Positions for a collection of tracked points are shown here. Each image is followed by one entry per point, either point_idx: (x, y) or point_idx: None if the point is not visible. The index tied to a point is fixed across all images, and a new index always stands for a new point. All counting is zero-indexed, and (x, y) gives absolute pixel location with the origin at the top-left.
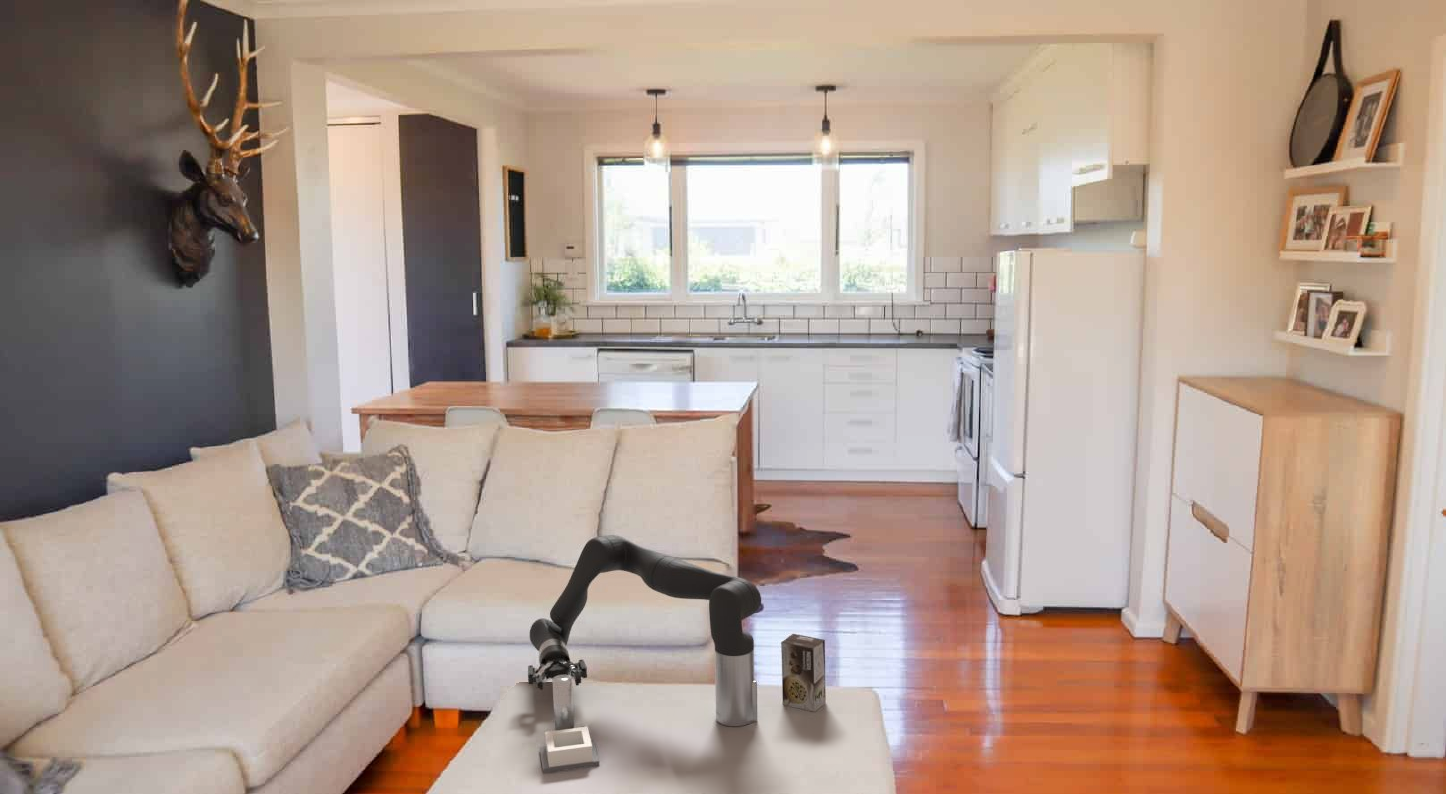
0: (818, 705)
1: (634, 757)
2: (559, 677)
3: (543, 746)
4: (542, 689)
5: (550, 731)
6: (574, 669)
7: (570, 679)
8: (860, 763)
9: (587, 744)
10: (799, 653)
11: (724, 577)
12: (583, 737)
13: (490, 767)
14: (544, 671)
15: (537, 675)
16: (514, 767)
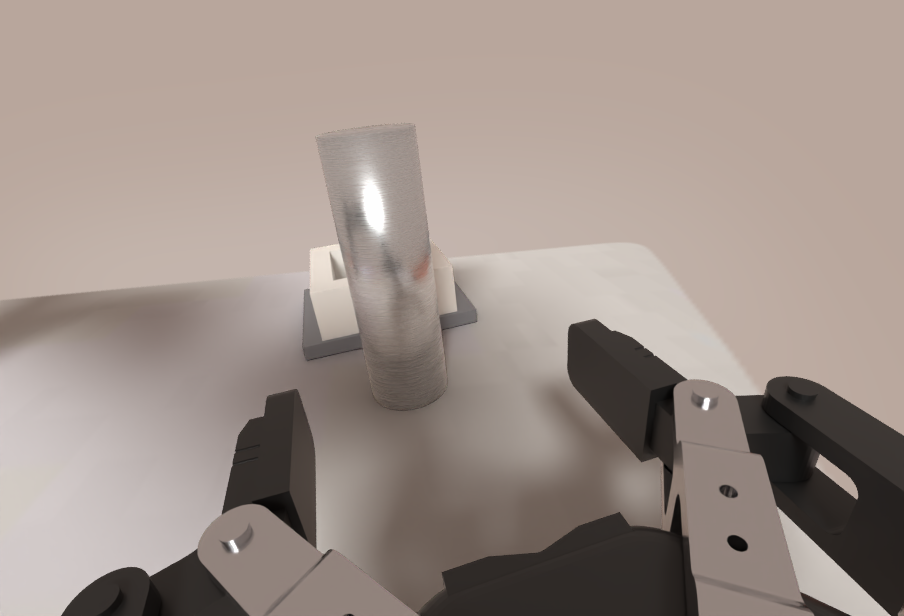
0: None
1: (205, 328)
2: (380, 130)
3: (464, 311)
4: (572, 377)
5: (435, 269)
6: (275, 533)
7: (324, 134)
8: None
9: (321, 250)
10: None
11: None
12: (329, 264)
13: (581, 271)
14: (676, 454)
15: (692, 384)
16: (519, 277)
